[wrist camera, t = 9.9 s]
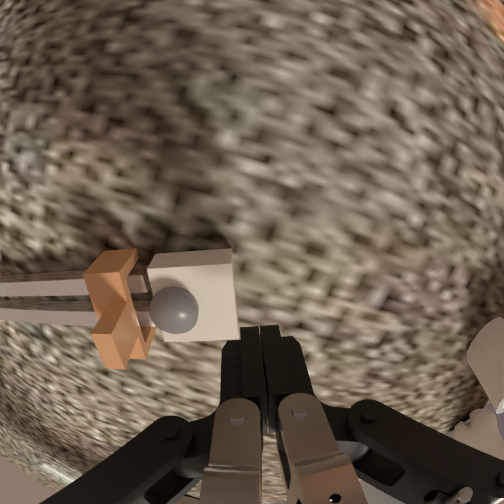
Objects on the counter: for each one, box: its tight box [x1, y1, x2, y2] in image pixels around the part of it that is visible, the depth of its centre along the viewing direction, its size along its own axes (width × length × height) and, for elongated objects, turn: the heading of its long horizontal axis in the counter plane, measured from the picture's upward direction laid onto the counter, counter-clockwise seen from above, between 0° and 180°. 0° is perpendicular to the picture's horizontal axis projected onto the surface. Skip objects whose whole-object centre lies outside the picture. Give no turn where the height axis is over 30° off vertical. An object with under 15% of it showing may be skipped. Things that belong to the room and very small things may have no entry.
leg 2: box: [0, 299, 156, 327], centre depth 13 cm, size 19×1×5 cm, turn 92°
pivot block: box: [147, 248, 239, 342], centre depth 15 cm, size 4×4×2 cm
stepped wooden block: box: [83, 248, 156, 369], centre depth 13 cm, size 2×5×5 cm, turn 3°
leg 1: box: [0, 265, 150, 296], centre depth 13 cm, size 19×1×5 cm, turn 93°
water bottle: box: [453, 408, 504, 504], centre depth 16 cm, size 7×7×25 cm
